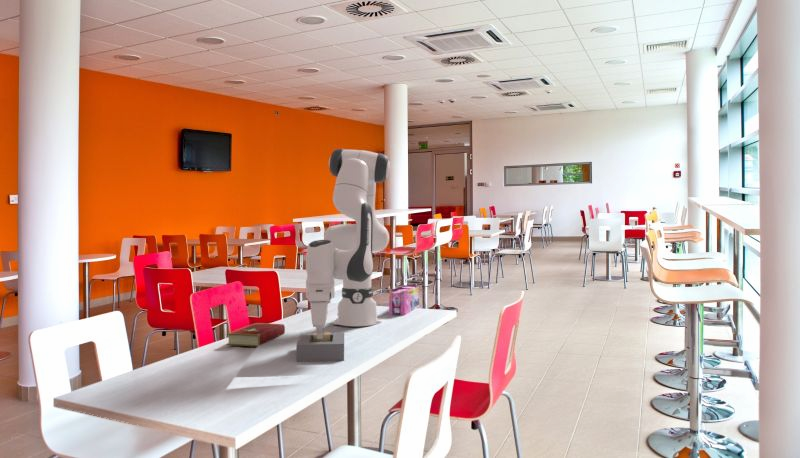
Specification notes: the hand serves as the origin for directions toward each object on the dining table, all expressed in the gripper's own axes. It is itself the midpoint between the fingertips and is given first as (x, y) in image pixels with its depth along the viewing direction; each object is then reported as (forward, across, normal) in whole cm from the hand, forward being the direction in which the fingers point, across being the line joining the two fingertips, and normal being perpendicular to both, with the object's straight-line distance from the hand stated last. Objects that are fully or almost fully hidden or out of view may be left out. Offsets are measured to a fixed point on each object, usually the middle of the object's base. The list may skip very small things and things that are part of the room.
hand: (320, 336), depth 183 cm
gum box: (+6, -67, +32) cm, 74 cm away
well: (+6, 0, 0) cm, 6 cm away
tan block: (+5, 0, 0) cm, 5 cm away
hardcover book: (+7, -27, -24) cm, 37 cm away
